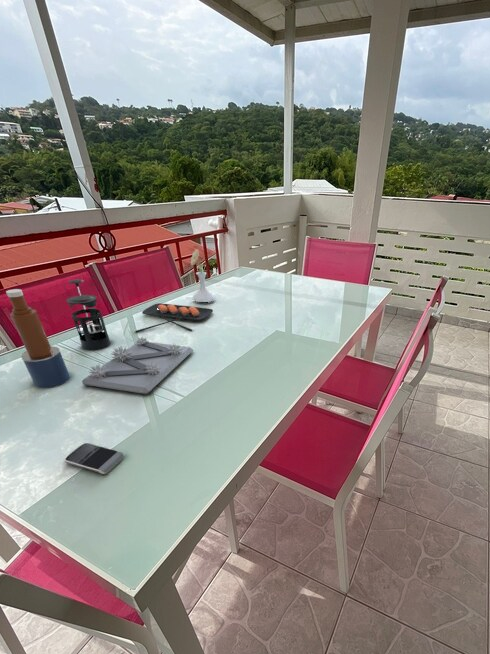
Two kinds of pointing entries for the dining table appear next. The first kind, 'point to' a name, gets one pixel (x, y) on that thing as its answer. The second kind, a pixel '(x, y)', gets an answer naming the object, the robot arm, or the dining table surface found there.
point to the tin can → (47, 369)
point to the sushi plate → (176, 313)
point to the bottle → (28, 325)
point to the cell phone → (94, 458)
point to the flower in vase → (201, 283)
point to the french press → (91, 330)
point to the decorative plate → (138, 366)
